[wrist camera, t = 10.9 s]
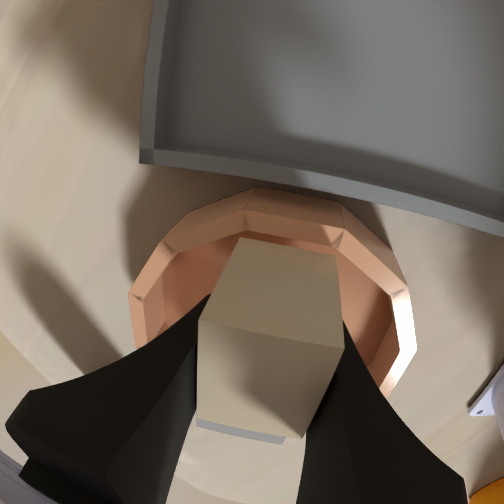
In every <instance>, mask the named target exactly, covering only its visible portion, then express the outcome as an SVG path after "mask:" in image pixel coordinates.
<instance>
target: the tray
mask: <svg viewBox="0 0 504 504" xmlns="http://www.w3.org/2000/svg"><path fill="white" fill-rule="evenodd" d="M139 163H141V164H150V165H159V166H167V167H176V168H184V169H191V170H199V171H206V172H213V173H220V174H226V175H233V176H239V177H246V178H252V179H258V180H264V181H270V182H275V183H281V184H286V185H292V186H297V187H302V188H308V189H313V190H318V191H323V192H328V193H333V194H337V195H342V196H347V197H351V198H356V199H360V200H365V201H369V202H374V203H378V204H382V205H387V206H391V207H395V208H399V209H403V210H407V211H411V212H415V213H419V214H423V215H427V216H430V217H434V218H438V219H441V220H445V221H449V222H452V223H456V224H459V225H463V226H466V227H470V228H473V229H477V230H480V231H483V232H487V233H490V234H493V235H496V236H499V237H503V238H504V0H154V4H153V10H152V16H151V23H150V30H149V37H148V45H147V54H146V63H145V73H144V84H143V96H142V110H141V128H140V155H139Z"/></svg>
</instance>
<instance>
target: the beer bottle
mask: <svg viewBox="0 0 504 504" xmlns="http://www.w3.org/2000/svg"><path fill="white" fill-rule="evenodd" d="M469 504H504V477H503V478H501V479H499V480H497V481H495V482H493V483H491V484H489V485H487V486H485V487H484V488H482V489H480V490H479V491H477V492H476V493H475V494H474V495H473V496H472V497H471V498H470V501H469Z"/></svg>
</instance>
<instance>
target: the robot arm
mask: <svg viewBox="0 0 504 504" xmlns="http://www.w3.org/2000/svg"><path fill="white" fill-rule="evenodd" d="M210 296H211V294H208V295H206V296H205V297H204V298H203V299H202V300H201V301H200V302H199V303H198V304H197V305H195V306H194V307H193V308H192V309H191V310H190V311H189V312H187V313H186V314H185V315H184V316H183V317H182V318H180V319H179V320H178V321H177V322H175V323H174V324H173V325H172V326H170V327H169V328H168V329H167V330H165V331H164V332H162V333H161V334H160V335H158V336H157V337H155V338H154V339H153V340H151V341H150V342H148V343H147V344H145V345H144V346H142V347H141V348H139V349H137V350H136V351H134V352H132V353H131V354H129V355H127V356H125V357H124V358H122V359H120V360H118V361H116V362H114V363H112V364H110V365H108V366H106V367H103V368H101V369H99V370H97V371H94V372H92V373H89V374H86V375H84V376H81V377H78V378H76V379H73V380H70V381H66V382H63V383H60V384H56V385H52V386H48V387H44V388H40V389H36V390H30V391H29V392H28V393H27V394H26V395H25V397H24V398H23V399H22V400H21V402H20V403H19V405H18V406H17V407H16V409H15V410H14V411H13V413H12V414H11V416H10V417H9V419H8V420H7V421H6V423H5V426H6V430H7V432H8V433H9V435H10V436H11V437H12V439H13V440H14V441H15V442H16V443H17V445H18V446H19V447H20V448H21V449H22V450H23V451H24V453H25V454H26V455H27V456H28V457H29V459H28V460H27V462H26V464H25V465H24V467H23V466H22V465H20V464H19V463H17V462H16V461H14V460H13V459H12V458H10V457H9V456H7V455H6V454H5V453H3V452H2V451H1V450H0V504H165V503H166V500H167V496H168V493H169V489H170V486H171V482H172V479H173V476H174V472H175V469H176V466H177V462H178V459H179V456H180V453H181V450H182V447H183V443H184V440H185V437H186V434H187V431H188V428H189V426H190V423H191V421H192V418H193V416H194V414H195V411H196V409H197V359H198V323H199V318H200V316H201V314H202V312H203V310H204V308H205V306H206V304H207V302H208V300H209V298H210ZM343 333H344V347H345V349H344V351H343V353H342V356H341V358H340V360H339V363H338V365H337V367H336V370H335V372H334V374H333V376H332V379H331V381H330V383H329V385H328V387H327V390H326V392H325V394H324V396H323V398H322V400H321V402H320V404H319V406H318V408H317V410H316V413H315V415H314V417H313V419H312V421H311V423H310V425H309V427H308V428H307V430H306V447H305V456H304V462H303V469H302V475H301V480H300V486H299V491H298V496H297V501H296V504H468V502H467V494H466V488H465V483H464V478H462V477H461V476H460V475H459V474H457V473H456V472H455V471H454V470H452V469H451V468H450V467H449V466H447V465H446V464H445V463H444V462H442V461H441V460H440V459H439V458H438V457H437V456H435V455H434V454H433V453H432V452H431V451H430V450H429V449H428V448H427V447H426V446H425V445H424V444H423V443H422V442H421V441H420V440H419V439H418V438H417V437H416V436H415V435H414V433H413V432H412V431H411V430H410V429H409V428H408V427H407V425H406V424H405V423H404V422H403V421H402V420H401V418H400V417H399V416H398V415H397V413H396V412H395V411H394V409H393V408H392V407H391V405H390V404H389V402H388V401H387V400H386V398H385V397H384V395H383V394H382V392H381V391H380V389H379V387H378V386H377V384H376V382H375V381H374V379H373V377H372V376H371V374H370V372H369V370H368V369H367V367H366V365H365V363H364V361H363V359H362V357H361V356H360V354H359V352H358V350H357V348H356V346H355V343H354V341H353V339H352V337H351V335H350V333H349V331H348V329H347V326H346V324H345V322H344V321H343ZM468 414H469V416H485V415H496V418H497V422H498V425H499V428H500V431H501V434H502V438H503V441H504V364H503V365H502V367H501V368H500V370H499V371H498V372H497V374H496V375H495V376H494V378H493V379H492V380H491V382H490V383H489V384H488V386H487V387H486V388H485V389H484V391H483V392H482V393H481V394H480V396H479V397H478V398H477V399H476V401H475V402H474V403H473V404H472V405H471V407H470V408H469V409H468Z"/></svg>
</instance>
